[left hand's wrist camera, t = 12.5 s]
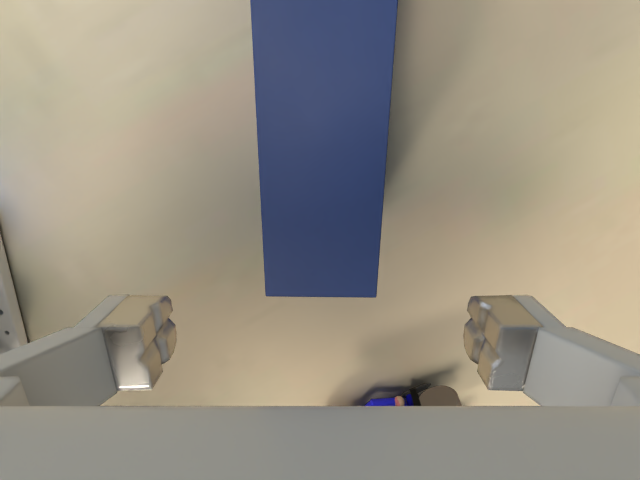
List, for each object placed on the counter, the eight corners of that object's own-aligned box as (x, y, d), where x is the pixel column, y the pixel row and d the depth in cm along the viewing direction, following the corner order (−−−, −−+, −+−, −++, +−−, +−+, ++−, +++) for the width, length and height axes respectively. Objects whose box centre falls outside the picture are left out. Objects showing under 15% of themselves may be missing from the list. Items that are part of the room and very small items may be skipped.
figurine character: (433, 353, 37) (299, 410, 38) (469, 409, 30) (303, 479, 31) (452, 400, 39) (325, 453, 40) (490, 463, 32) (334, 527, 33)
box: (358, 231, 31) (376, 297, 21) (284, 230, 31) (265, 296, 21) (375, -110, 23) (418, -279, 13) (274, -111, 23) (235, -280, 13)
